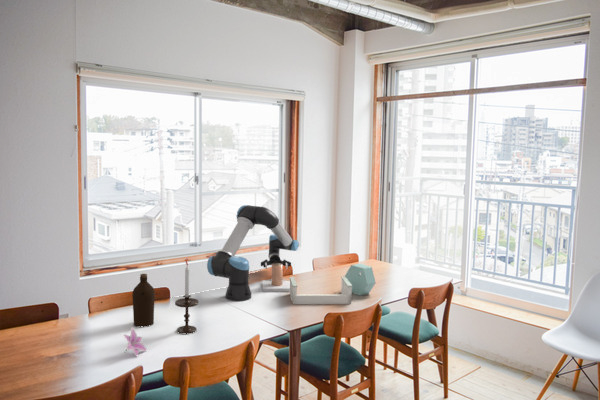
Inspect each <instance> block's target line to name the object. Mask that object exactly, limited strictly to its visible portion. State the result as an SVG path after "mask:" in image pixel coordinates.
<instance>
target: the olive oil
mask: <svg viewBox="0 0 600 400" xmlns="http://www.w3.org/2000/svg"><path fill="white" fill-rule="evenodd" d="M139 276H140V277H139V283H138V284H137V285H136V286H135V287H134V288H133V290H132V293H131V294H132V296H131V297H132V312H133V325H134V326H135V327H137V326H140V327H139V328H145V327H144V326H147V327H149V325H150V326H152V325H154V324H155V323H154V319H155V303H156V301H155V300H156V291H155V288H154V287H153V286H152V285H151V284H150V283H149V282H148V274H147V273H140V275H139ZM141 326H143V327H141Z"/></svg>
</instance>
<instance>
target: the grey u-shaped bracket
mask: <svg viewBox="0 0 600 400" xmlns="http://www.w3.org/2000/svg"><path fill="white" fill-rule="evenodd" d="M289 281H290V292H289V296H290V299H291V302H292V305H349V304H350V305H351V304H352V295H353V293H352V284H351V283H350V282H349V281H348V279H347V278H346V277H345V276H341V291H340V292H341V293H339V294H338V293H335V294H332V293H331V294H328V293H327V294H323V293H322V294H321V293H320V294H318V293H317V294H314V293H313V294H312V293H311V294H310V293H309V294H297V293H298V292H297V290H298V289H297V288H298V284H297V282H296V278H295V276H289Z"/></svg>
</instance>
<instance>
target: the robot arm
mask: <svg viewBox="0 0 600 400" xmlns="http://www.w3.org/2000/svg"><path fill="white" fill-rule="evenodd" d="M236 222H237V223H236V225H235V227H234V228H233V230H232V231H231V233H230V235H229V237H228V239H227V241H225V243H224V245H223V247H222V249H221V250H218V251H217V252H216V254H215V255H210V257H208V260H207V262H206V268H207V271H208V273H209V275H211V276H214V277H220V278H225V279H228V286H227V287H226V292H225V298H226V299H227V300H230V301H235V302H238V301H239V302H240V301H247V300H250V299H251V298H252V291H251V287H250V285H249V283H250V282H249V279H250V277H249V275H250V263H249V262H250V261H249V260H248V259H247V258H245V257H243V256H235V255H236V254H237V252H238V250H239V249H240V246H241V245H242V243H243V242H244V240H245V237H246V236H247V234H248V232H249V231H250V230H252V229H254V227H255V225H259V226H260V225H261V226H264V227H266V228H267V229H269V230H270V231H271V232H272V233H273V234H270V235H269V238H268V240H269V241H268V259H265V260H262V261H261V262H260V267H263V268H264V269H265V270H267V268H268V267H267V266H272V264H273V263H281V264H283V267H284V266H285V268H286V270H288V268H289V267H291V266H292V262H291V261H288V260H286V259H283V260H282V259H281V258H280V257H281V256H280V250H283V251H285V250H286V251H292V252H295V251H297V250H298V249H299V244H300V243H299V241H298V240H296V239H293V238H292V237H291V235H290V234H289V233H288V232H287V230H286V229H285V228H284V226H283V225H282V224H281V222H280V219H279V217H278V216H277V215H276V214H275V213H274V212H273V211H272V210H270V209H269V208H267V207H264V206H259V205H258V206H257V205H250V204H249V205H247V204H246V205H241V206H240V207H239V208H238V209H237V212H236Z"/></svg>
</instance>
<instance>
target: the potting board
mask: <svg viewBox="0 0 600 400" xmlns="http://www.w3.org/2000/svg"><path fill="white" fill-rule="evenodd" d="M271 282H272V280H261V286H262V292H264V293H267V292H268V293H269V292H270V293H271V292H275V293H277V292H278V293H279V292H280V293H283V292H284V293H288V292H289V293H290V280H282V285H281V286H273V285H271Z"/></svg>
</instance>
